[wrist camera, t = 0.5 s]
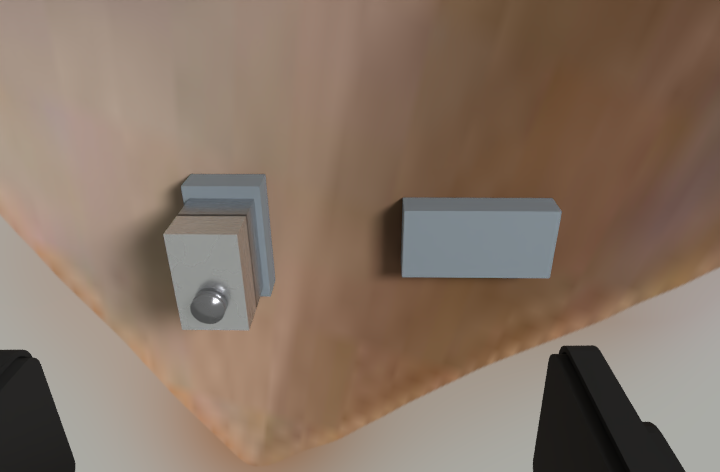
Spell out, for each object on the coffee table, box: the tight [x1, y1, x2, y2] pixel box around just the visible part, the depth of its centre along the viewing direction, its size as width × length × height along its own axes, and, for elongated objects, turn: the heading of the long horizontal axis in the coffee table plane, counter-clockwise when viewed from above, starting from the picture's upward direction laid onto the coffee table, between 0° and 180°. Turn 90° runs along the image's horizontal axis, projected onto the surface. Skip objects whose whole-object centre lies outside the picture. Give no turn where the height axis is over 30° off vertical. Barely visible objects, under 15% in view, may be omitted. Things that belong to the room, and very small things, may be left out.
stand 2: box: [401, 198, 562, 278], centre depth 45 cm, size 6×12×2 cm, turn 90°
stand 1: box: [181, 174, 275, 296], centre depth 45 cm, size 10×6×2 cm, turn 0°
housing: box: [163, 198, 264, 330], centre depth 41 cm, size 8×5×7 cm, turn 0°
